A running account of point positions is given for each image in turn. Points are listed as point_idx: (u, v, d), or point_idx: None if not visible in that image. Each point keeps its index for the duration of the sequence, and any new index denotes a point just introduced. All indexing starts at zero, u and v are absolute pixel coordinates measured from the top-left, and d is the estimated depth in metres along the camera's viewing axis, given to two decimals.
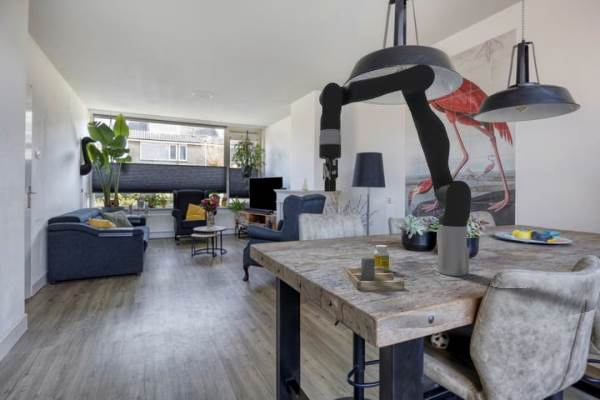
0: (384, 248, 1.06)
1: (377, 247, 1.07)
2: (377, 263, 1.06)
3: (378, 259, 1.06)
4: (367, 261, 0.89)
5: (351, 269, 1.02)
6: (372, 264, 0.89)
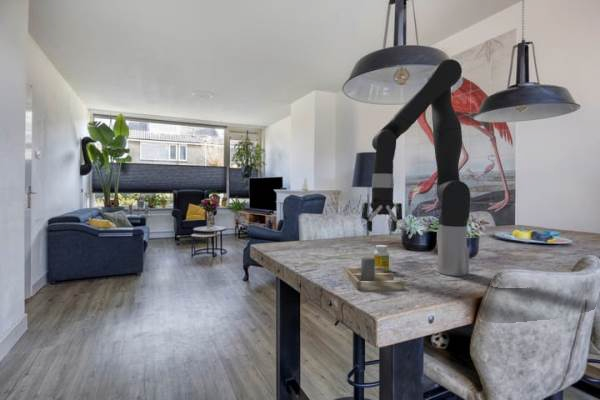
0: (384, 248, 1.06)
1: (377, 247, 1.07)
2: (377, 263, 1.06)
3: (378, 259, 1.06)
4: (367, 261, 0.89)
5: (351, 269, 1.02)
6: (372, 264, 0.89)
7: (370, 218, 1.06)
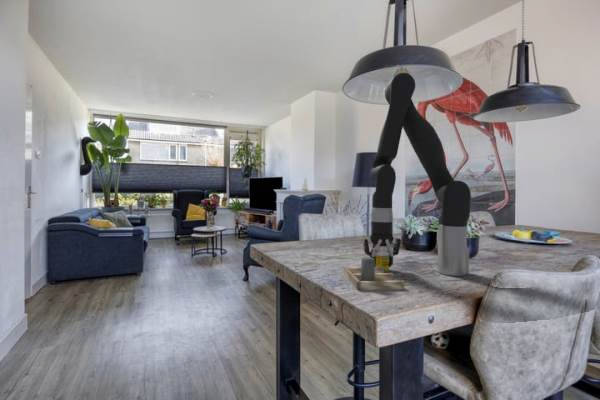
0: (384, 248, 1.06)
1: None
2: (377, 263, 1.06)
3: (378, 259, 1.06)
4: (367, 261, 0.89)
5: (351, 269, 1.02)
6: (372, 264, 0.89)
7: (373, 254, 1.07)
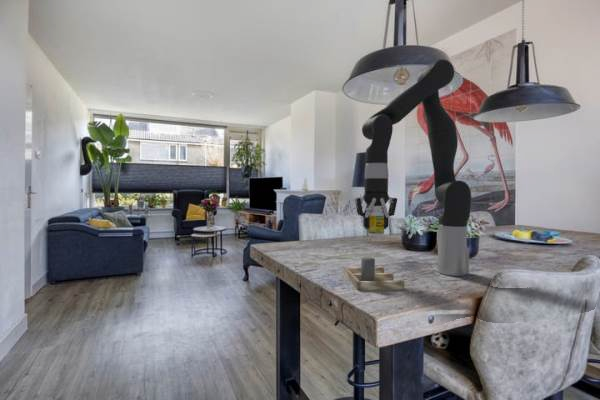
0: (379, 208, 0.97)
1: None
2: (371, 224, 0.97)
3: (372, 220, 0.97)
4: (367, 261, 0.89)
5: (351, 269, 1.02)
6: (372, 264, 0.89)
7: (367, 214, 0.97)
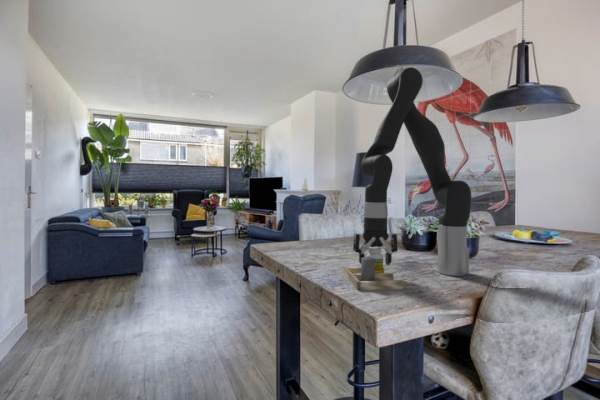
0: (377, 251, 0.97)
1: (370, 250, 0.98)
2: None
3: None
4: (367, 261, 0.89)
5: (351, 269, 1.02)
6: (372, 264, 0.89)
7: (362, 251, 0.97)
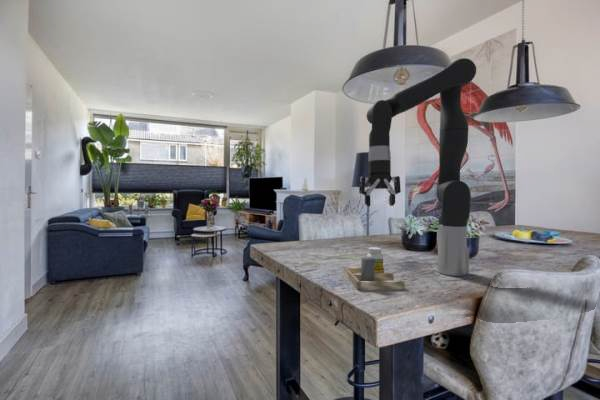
0: (378, 251, 0.97)
1: (370, 250, 0.98)
2: None
3: None
4: (367, 261, 0.89)
5: (351, 269, 1.02)
6: (372, 264, 0.89)
7: (368, 192, 1.03)
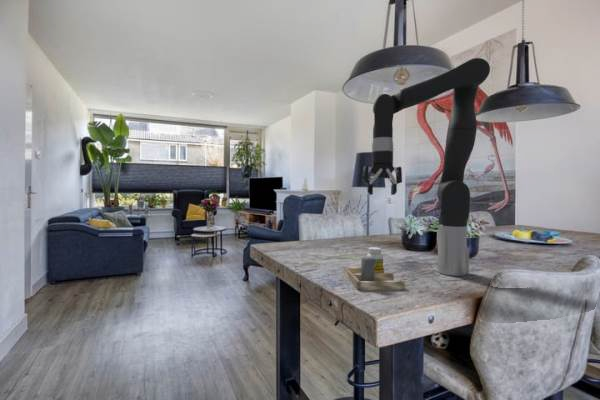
0: (378, 251, 0.97)
1: (370, 250, 0.98)
2: None
3: None
4: (367, 261, 0.89)
5: (351, 269, 1.02)
6: (372, 264, 0.89)
7: (371, 181, 1.09)
